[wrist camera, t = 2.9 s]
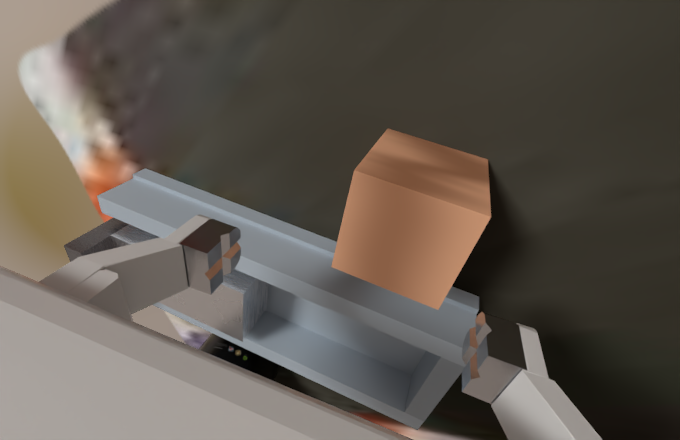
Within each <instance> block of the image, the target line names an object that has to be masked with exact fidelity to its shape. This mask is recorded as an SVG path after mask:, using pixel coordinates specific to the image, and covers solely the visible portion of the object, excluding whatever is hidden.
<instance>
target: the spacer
mask: <svg viewBox="0 0 680 440" xmlns="http://www.w3.org/2000/svg"><path fill="white" fill-rule="evenodd" d="M490 218H491V205H490V187H489V170H488V159H484V158H481V157H478V156H475V155H472V154H468V153H465V152H462V151H459V150H455V149H452V148H449V147H446V146H443V145H439V144H436V143H433V142H430V141H427V140H423V139H420V138H417V137H414V136H410V135H407V134H404V133H401V132H398V131H394V130H391V129H387V130H386V131H385V132H384V134H383V135H382V136H381V137H380V139H379V140H378V141H377V142H376V144H375V145H374V146H373V147H372V149H371V150H370V151H369V152H368V154H367V155H366V156H365V157H364V159H363V160H362V161H361V162H360V164H359V165H358V166H357V167H356V169H355V170H354V173H353V178H352V182H351V186H350V190H349V194H348V198H347V203H346V207H345V211H344V215H343V219H342V224H341V228H340V232H339V236H338V240H337V245H336V249H335V253H334V257H333V261H332V266H331V267H333V268H335V269H337V270H340V271H342V272H345V273H347V274H350V275H352V276H355V277H357V278H360V279H362V280H365V281H367V282H370V283H372V284H375V285H377V286H380V287H382V288H385V289H387V290H390V291H392V292H394V293H397V294H399V295H402V296H404V297H407V298H409V299H412V300H414V301H417V302H419V303H422V304H424V305H427V306H429V307H432V308H434V309H437V310H439V308H440V306H441V304H442V303H443V301H444V299H445V297H446V296H447V294H448V292H449V290H450V289H451V287H452V285H453V283H454V281H455V280H456V278H457V276H458V274H459V273H460V271H461V269H462V267H463V266H464V264H465V262H466V260H467V259H468V257H469V255H470V253H471V252H472V250H473V248H474V246H475V245H476V243H477V241H478V239H479V238H480V236H481V234H482V232H483V231H484V229H485V227H486V225H487V223H488V222H489V220H490Z"/></svg>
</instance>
